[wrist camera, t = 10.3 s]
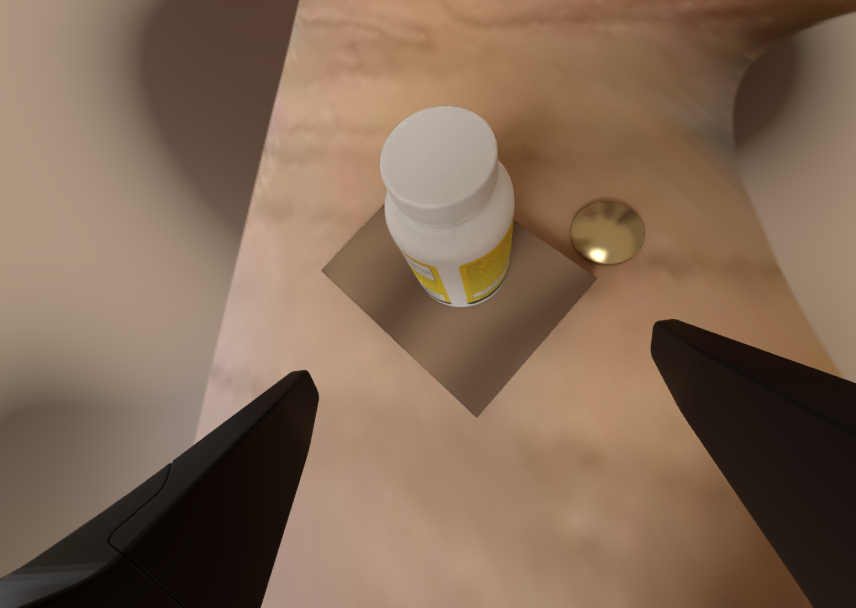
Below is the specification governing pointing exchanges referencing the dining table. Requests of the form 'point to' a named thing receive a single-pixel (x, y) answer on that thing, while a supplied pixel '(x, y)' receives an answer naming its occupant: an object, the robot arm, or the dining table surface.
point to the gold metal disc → (607, 233)
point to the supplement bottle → (449, 203)
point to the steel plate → (461, 309)
